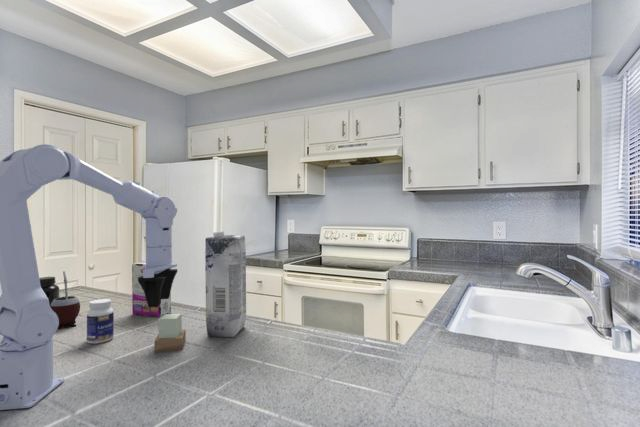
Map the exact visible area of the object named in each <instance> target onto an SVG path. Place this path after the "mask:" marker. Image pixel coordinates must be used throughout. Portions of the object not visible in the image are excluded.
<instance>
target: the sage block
mask: <svg viewBox="0 0 640 427" xmlns="http://www.w3.org/2000/svg"><path fill="white" fill-rule="evenodd" d="M182 317H183V316H182V313H170V314H165V315H163V316H162V317H159V318H158V334H159V338H177V337H178V335H179V334H180V333H181V332H182V330H183V327H182V326H183V325H182V324H183V323H182V320H183V319H182Z"/></svg>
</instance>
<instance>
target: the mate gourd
mask: <svg viewBox="0 0 640 427" xmlns="http://www.w3.org/2000/svg"><path fill="white" fill-rule="evenodd" d="M62 273H63V274H62V275H63V284H64V295H65V296H60V298H56V299H54V300H53V301H52V303H51V306H50V307H51V309H52V310H53V311H54V312H55V313H56V315H57V316H58V319H59V325H58V329H57V330H60V329H62V328H66V327H67V328H75V327H76V326H77V324H76V319H78V318H77V317H78V316H79V315H80V310H81V303H80V302H81V301H80V299H79V298H78V297H77V296H74V295H70V296H69V295H68V293H69V292H68V279H67V274H66V271H62Z"/></svg>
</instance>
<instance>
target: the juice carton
mask: <svg viewBox="0 0 640 427" xmlns="http://www.w3.org/2000/svg"><path fill="white" fill-rule="evenodd" d="M212 234H213V236H212V237H210V236H209V237H208V236H207V237H205V238H204V239H205V248H204V249H205V250H204V251H205V252H204V254H205V255H204V256H205V257H204V258H205V260H204V261H205V262H204V263H205V267H204V268H205V325H206V333H207V334H206V335H207V336H208V337H212V338H213V337H215V338H219V337H220V338H224V337H225V338H233V337H235V336H236V335H237V334H238V333H239V332H240V331H241V330H242V329H244V327H245V325H246V320H247V319H246V318H247V264H246V263H247V262H246V261H247V260H246V259H247V258H246V257H247V255H246V253H247V252H246V236H245V235H241V234H240V235H239V234H237V235H235V234H230V235H229V234H228V235H227V234H226V235H225V231H224V230H223V231H215V232H212Z"/></svg>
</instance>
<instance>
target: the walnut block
mask: <svg viewBox="0 0 640 427" xmlns="http://www.w3.org/2000/svg"><path fill="white" fill-rule="evenodd" d="M186 336H187V334H186V329H182V332H181V333H180V334H179V335H178V337H177V338H159V333H158V334H157V336H156V337H155V339H154V353H161V352H171V351H172V352H173V351H181V350H184V347H185V344H186V341H187V340H186V338H187V337H186Z"/></svg>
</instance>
